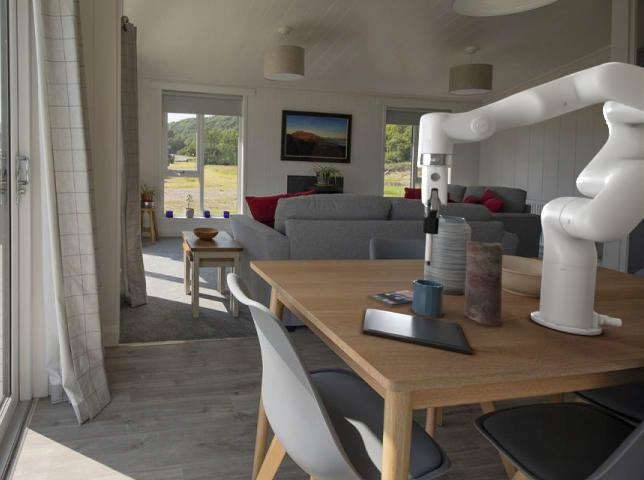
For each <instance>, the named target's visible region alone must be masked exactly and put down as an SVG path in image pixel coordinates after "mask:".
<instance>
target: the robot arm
mask: <svg viewBox="0 0 644 480" xmlns="http://www.w3.org/2000/svg"><path fill="white" fill-rule="evenodd" d="M602 103H604V105H603V108H602V112H603V116H604V119H605V121H606V124H607V126H608V130H609V134H608V139H607V140H606V142H605V144H604V145H603V146H602V148H601V149H599V151H598V152H597V153H596V155H595V156H594V157H593V158H592V159H591V161H590V162H588V164H587V165H586V166H585V167H584V168H583V170H582V171H581V172H580V174H579V175H578V177H577V179H576V188H577V190H578V191H579V193H581V194H582V195H584V196H586V197H579V196H560V197H557V198H554V199H552V200H550V201H548V202H547V203H546V204H545V205H544V206H543V208H542V209H541V213H540V221H541V223H540V224H541V229H542V235H543V254H542V255H543V257H542V267H541V268H542V270H541V281H540V282H541V283H540V297H539V298H540V299H539V310H538V311H537V310H536V311H533V312H531V313H530V319H531V320H532V321H534V322H535V323H537V324H539V325H541V326H544V327H547V328H550V329H553V330H557V331H560V332H563V333H569V334H574V335H582V336H597V335H598V336H599V335H601V334H602V331H603V329H602V326H604V325H606V326H610V327H615V328H622V326H623V322H622V319H621V318H618V317H617V318H616V317H612V316H611V317H610V316H608V315H606V314H599V313H598V312H596V311H595V310H594V307H595V295H596V283H597V270H598V269H597V267H598V251H597V246H596V243H602V244H604V243H605V244H610V243H614V242H618V241H620V240H622V239H624V238H625V237H627V236H628V235H629V234H630V233H632V232H633V230H635V228H636V227H638V225H639V224H640V223H641V222H642V220H644V67H641V66H640V65H635V64H631V63H625V62H619V61H613V62H612V61H611V62H605V63H602V64H599V65H596V66H593V67H592V66H591V67H589V68H586V69H582V70H579V71H576V72H573V73H570V74H567V75H564V76H562V77H559V78H556V79H553V80H551V81H550V80H549V81H547V82H545V83H542V84H540V85H536V86H534V87H531V88H528V89H525V90H522V91H519V92H517V93H514V94H511V95H508V96H506V97H505V98H502V99H500V100H497V101H495V102H492V103H489V104H486V105H483V106H481V107H478V108H475V109H472V110H470V111H465V112H457V113H456V112H454V113H453V112H451V113H450V112H444V111H443V112H438V111H437V112H428V113H425V114H423V115H421V117H420V120H419V133H418V135H419V136H418V152H417V168H422V170H421V171H422V173H421V203H422V204H423V205H424V216H423V218H422V219H423V220H422V232H423V233H424V234H426V233H427V234H438V230H439V219H438V218H439V216H440V207H443V208H445V207H447V206H448V181H449V179H448V175H449V174H448V169H452V168H453V156H454V155H453V154H454V144H455V145H462V144H471V143H478V142H479V143H480V142H482V141H485V140H487V139H488V138H490V137H492V135H493V134H494V133H499V132H502V131H505V130H510V129H516V128H522V127H527V126H530V125H534V124H538V123H542V122H544V121H547V120H550V119H553V118H556V117H559V116H562V115H564V114H568V113H571V112H574V111H578V110H580V109H583V108H586V107H589V106H592V105H596V104H602Z"/></svg>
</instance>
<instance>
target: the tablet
mask: <svg viewBox="0 0 644 480" xmlns="http://www.w3.org/2000/svg"><path fill="white" fill-rule="evenodd" d="M362 333H363V334H365V335H368V336H374V337H379V338H384V339H390V340H395V341H399V342H404V343H408V344H415V345H420V346H425V347H430V348H435V349H439V350H445V351H446V350H447V351H451V352H455V353H460V354H465V355H471V352H472V351H471V348H470V347H469V344H468V342H467V340H466V337H465V335H464V334H463V331H462V329H461V327H460V324H459V323H457V322H451V321H445V320H439V319H433V318H428V317H422V316H417V315H409V314H404V313H398V312H394V311H393V312H392V311H388V310H387V311H386V310H381V309H374V308H369V307H367V308H366V311H365V317H364V324H363V331H362Z"/></svg>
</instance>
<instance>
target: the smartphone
mask: <svg viewBox="0 0 644 480" xmlns="http://www.w3.org/2000/svg"><path fill="white" fill-rule="evenodd" d="M368 297H370V298H372V299H375V300H377V301H379V302H382V303H384V304H387V305H388V306H398V305H408V304H412V298H413V290H409V289H402V290H401V289H399V290H395V291H389V292H381V293H376V294H369V295H368Z"/></svg>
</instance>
